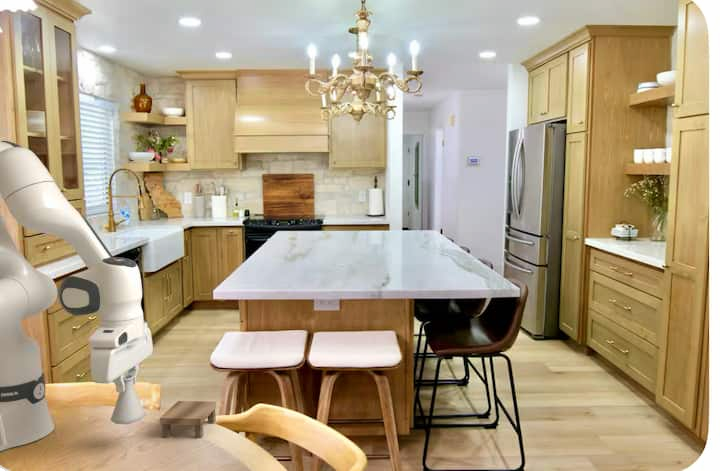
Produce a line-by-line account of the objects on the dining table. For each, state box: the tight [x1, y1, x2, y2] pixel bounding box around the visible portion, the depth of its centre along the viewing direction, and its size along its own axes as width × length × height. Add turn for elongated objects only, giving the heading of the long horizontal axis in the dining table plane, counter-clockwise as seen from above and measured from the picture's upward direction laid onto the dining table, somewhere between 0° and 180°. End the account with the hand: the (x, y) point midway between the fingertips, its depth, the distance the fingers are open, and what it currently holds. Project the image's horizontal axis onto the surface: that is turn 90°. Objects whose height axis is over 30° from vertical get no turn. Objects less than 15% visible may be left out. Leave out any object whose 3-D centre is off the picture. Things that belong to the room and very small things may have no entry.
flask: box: [110, 373, 147, 425], centre depth 126 cm, size 7×7×10 cm
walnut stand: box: [159, 400, 217, 439], centre depth 135 cm, size 10×10×5 cm
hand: (126, 387), depth 126 cm, fingers closed on flask, 3 cm apart
